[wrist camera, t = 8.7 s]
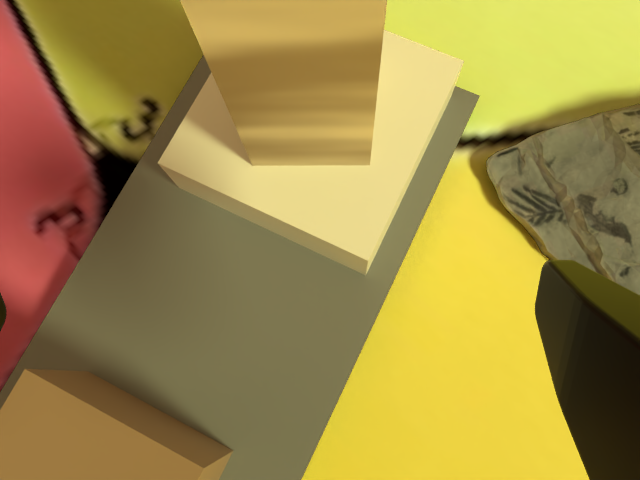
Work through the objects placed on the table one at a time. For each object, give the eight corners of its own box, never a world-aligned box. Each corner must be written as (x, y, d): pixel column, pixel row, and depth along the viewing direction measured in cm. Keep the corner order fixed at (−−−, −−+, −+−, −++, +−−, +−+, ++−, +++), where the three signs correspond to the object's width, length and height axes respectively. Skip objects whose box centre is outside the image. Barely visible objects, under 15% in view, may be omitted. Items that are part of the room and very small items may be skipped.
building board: (204, 686, 18) (152, 798, 13) (-61, 520, 20) (-194, 565, 15) (473, 108, 23) (508, 33, 18) (241, 14, 24) (215, -78, 20)
